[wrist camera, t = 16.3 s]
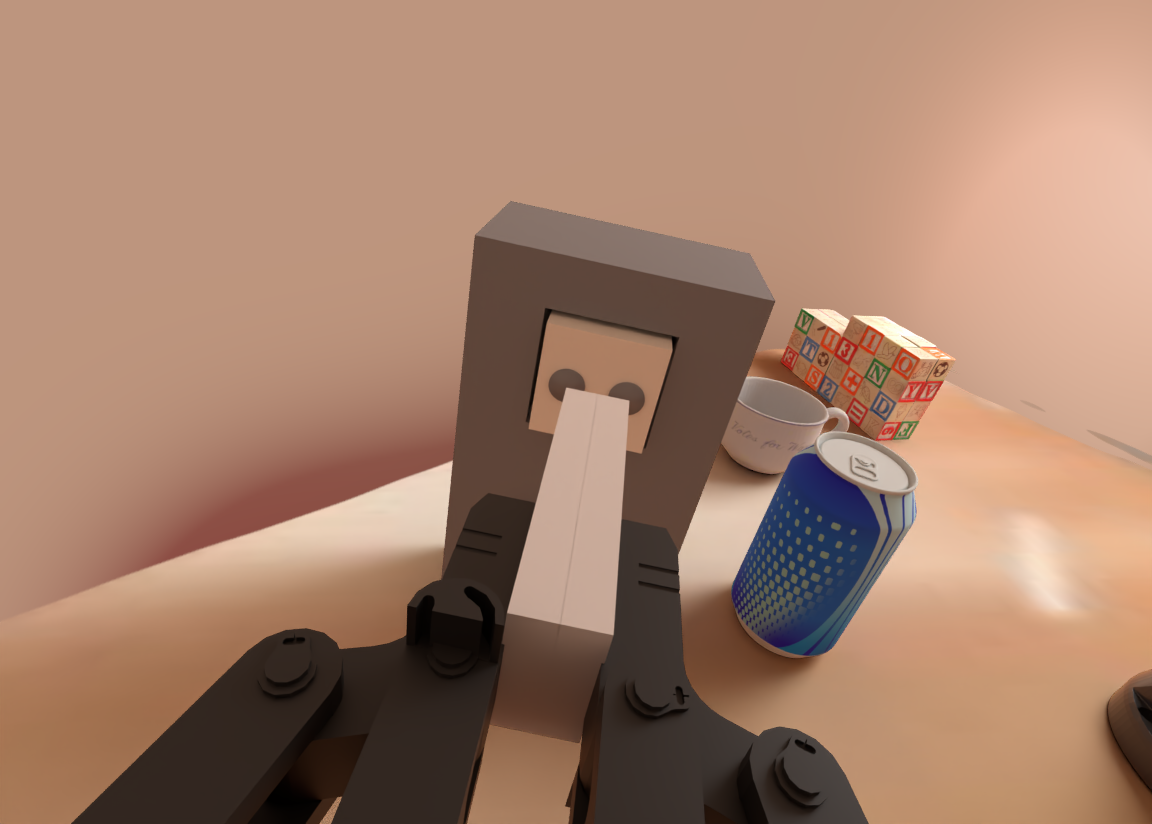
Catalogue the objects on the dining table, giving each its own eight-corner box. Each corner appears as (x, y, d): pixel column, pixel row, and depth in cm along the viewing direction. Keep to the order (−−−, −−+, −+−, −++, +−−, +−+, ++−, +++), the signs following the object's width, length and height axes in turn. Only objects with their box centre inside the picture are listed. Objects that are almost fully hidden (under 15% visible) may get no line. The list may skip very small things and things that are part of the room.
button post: (635, 666, 41) (775, 301, 27) (437, 623, 41) (474, 234, 27) (637, 580, 48) (749, 253, 34) (468, 543, 48) (510, 201, 34)
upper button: (641, 455, 30) (672, 351, 27) (527, 430, 30) (546, 323, 27) (643, 383, 37) (668, 293, 34) (550, 362, 37) (567, 271, 34)
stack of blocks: (778, 362, 92) (808, 288, 86) (809, 362, 95) (841, 290, 88) (875, 442, 76) (922, 357, 70) (910, 440, 78) (958, 358, 72)
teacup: (708, 470, 63) (732, 407, 59) (707, 420, 72) (728, 363, 68) (838, 505, 62) (871, 443, 58) (820, 449, 71) (848, 393, 67)
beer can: (704, 593, 48) (775, 431, 39) (777, 569, 52) (855, 417, 44) (778, 683, 42) (879, 513, 34) (853, 647, 46) (960, 488, 38)
